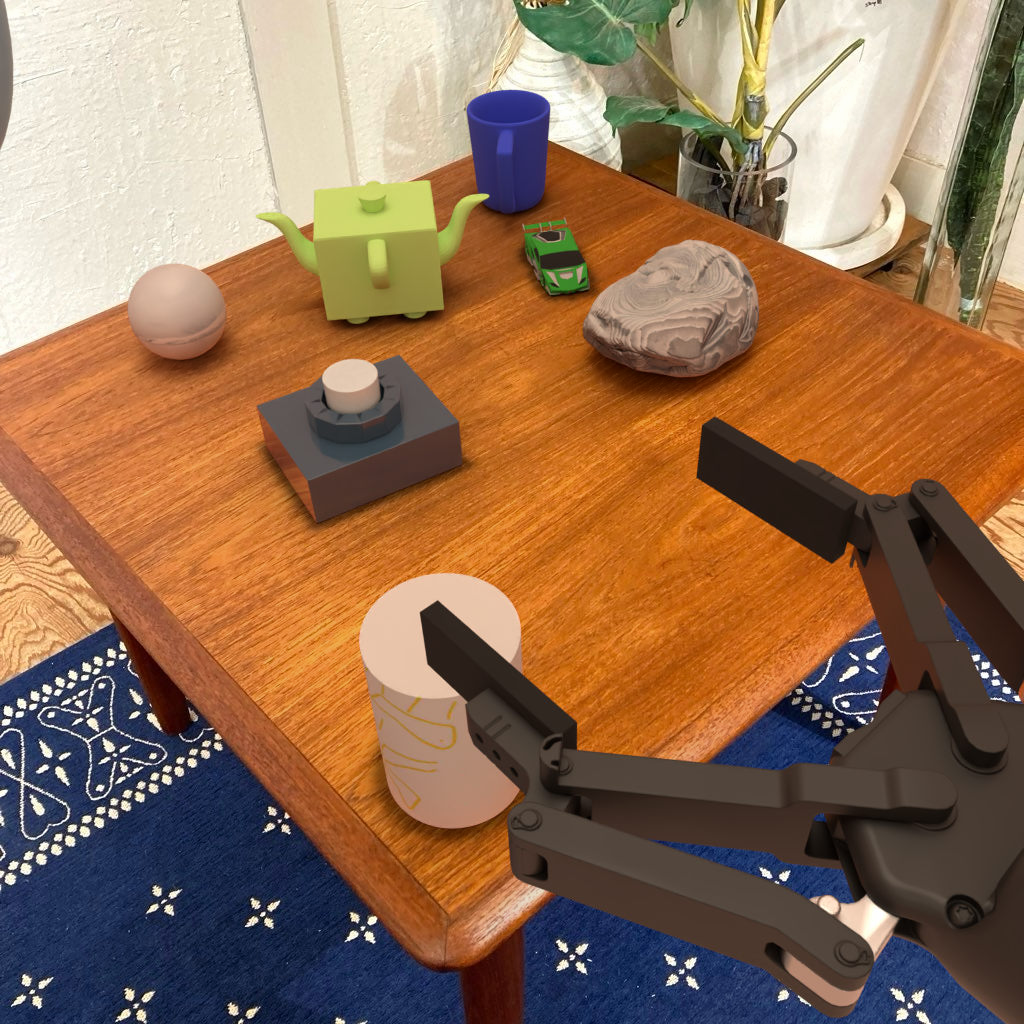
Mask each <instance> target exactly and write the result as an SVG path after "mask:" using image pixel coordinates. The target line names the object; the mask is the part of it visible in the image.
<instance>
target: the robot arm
mask: <svg viewBox="0 0 1024 1024" xmlns="http://www.w3.org/2000/svg"><path fill="white" fill-rule="evenodd" d="M12 43H13V42H12V35H11V30H10V23H9V18H8V11H7V6H6V2H5V0H0V151H1V150H2V147H3V145H4V142H5V139H6V135H7V132H8V127H9V123H10V119H11V115H12V114H11V113H12V108H13V98H14V97H13V96H14V55H13V54H14V53H13V44H12ZM696 479H697V480H699V481H700V482H702V483H704V484H705V485H706V486H708V487H709V488H712V489H713V490H715V491H716V492H718V493H719V494H721V495H722V496H724V497H726V498H727V499H728V500H731V501H732V502H734V503H735V504H737V505H738V506H739V507H741V508H743V509H744V510H746V511H748V512H749V513H751V514H752V515H754V516H756V517H757V518H759V519H760V520H761V521H762V522H765V523H767V524H768V525H770V526H772V527H773V528H774V529H776V530H778V531H779V532H781V533H782V534H783V535H785V536H787V537H788V538H790V539H791V540H793V541H795V542H797V543H798V544H799V545H801V546H803V547H804V548H805V549H807V550H808V551H810V552H812V553H814V554H815V555H817V556H818V557H819V558H821V559H823V560H825V561H826V562H828V563H829V564H831V565H833V564H834V563H835V562H836V561H838V560H839V559H840V558H841V557H843V556H844V555H845V553H846V551H847V545H848V544H850V545H852V546H853V548H852V551H851V555H850V558H849V559H850V560H849V568H850V569H853V568H854V565H855V564H854V563H856V568H858V571H859V574H860V577H861V579H862V583H863V585H864V588H865V591H866V594H867V596H868V599H869V602H870V605H871V608H872V611H873V614H874V617H875V620H876V622H877V625H878V628H879V631H880V634H881V636H882V640H883V643H884V646H885V649H886V651H887V654H888V657H889V660H890V663H891V665H892V668H893V671H894V675H895V678H896V680H897V682H898V685H899V689H898V688H895V689H894V690H893V691H892V692H891V693H890V694H889V695H888V696H886V698H885V699H884V700H883V701H881V703H880V704H879V707H878V709H877V711H876V713H875V714H874V716H873V718H872V720H871V722H869V723H867V724H864V725H863V726H861V727H858V728H857V729H855V730H852V731H851V732H849V733H847V734H846V735H845V736H844V738H843V739H841V740H840V741H839V742H838V744H836V745H835V746H834V747H833V748H832V752H831V755H830V758H829V761H828V764H825V763H824V764H823V763H814V762H813V763H812V762H797V763H792V764H790V765H789V766H787V767H785V768H783V769H771V768H762V767H761V768H760V767H750V766H740V765H731V764H722V763H721V764H720V763H711V762H701V761H690V760H682V759H681V760H680V759H672V758H661V757H654V756H653V757H652V756H642V755H632V754H622V753H612V752H604V751H603V752H602V751H592V750H585V749H584V750H581V749H578V721H576V719H574V718H573V717H572V716H571V715H570V714H569V713H567V712H566V711H565V710H564V709H563V708H562V707H561V706H559V705H558V704H557V703H556V702H555V701H554V700H553V699H551V698H550V697H549V696H548V695H547V694H545V692H543V691H542V690H541V689H540V688H539V687H538V686H536V684H535V683H533V681H531V680H530V679H528V678H527V677H526V676H525V675H524V674H522V673H520V672H519V671H518V670H517V669H516V668H515V667H514V666H512V665H511V664H510V663H509V662H508V661H507V660H506V659H504V658H503V657H502V656H501V655H500V654H499V653H498V652H497V651H495V650H494V649H493V648H492V647H491V646H490V645H489V644H487V643H486V642H485V641H484V640H483V639H482V638H481V637H479V636H478V635H477V634H476V633H475V632H474V631H473V630H471V629H470V628H469V627H468V626H467V625H466V624H465V623H463V622H462V621H461V620H460V619H459V618H458V617H457V616H455V615H454V614H453V613H452V612H451V611H450V610H449V609H447V608H446V607H445V606H444V605H443V604H442V603H441V602H439V601H438V600H437V601H436V602H434V603H433V604H431V605H430V606H428V607H427V608H425V609H423V610H422V611H420V618H421V625H422V632H423V639H424V645H425V652H426V659H427V665H429V666H430V667H431V668H432V669H433V670H434V671H435V672H436V673H437V674H438V675H439V676H440V677H441V678H442V679H443V680H445V681H446V682H447V683H448V684H449V685H450V686H451V687H452V688H453V689H454V690H455V691H456V692H457V693H458V694H459V695H461V696H462V697H463V698H464V699H465V700H466V701H467V702H468V703H466V704H465V708H466V717H467V726H468V732H469V735H470V737H471V740H472V742H473V745H474V746H475V747H476V748H477V749H478V750H480V751H481V752H482V753H483V754H484V755H486V757H487V758H488V759H489V760H490V761H491V762H492V763H493V764H495V766H496V767H497V768H498V769H499V770H500V771H501V772H502V773H503V774H504V775H505V776H506V777H507V778H508V779H509V780H511V781H512V782H513V783H514V784H515V785H516V786H517V787H518V788H519V789H520V790H519V791H520V792H521V793H522V794H524V797H523V799H522V800H521V802H519V803H518V804H515V805H514V806H512V808H511V809H510V811H509V812H508V815H507V818H506V827H507V828H506V829H507V838H508V839H507V840H508V853H509V864H510V870H511V873H512V874H513V876H514V877H515V878H516V880H519V881H520V882H521V883H524V884H527V885H529V886H531V887H535V888H538V889H541V890H543V891H546V892H549V893H551V894H554V895H557V896H560V897H562V898H565V899H568V900H569V901H573V902H576V903H579V904H582V905H584V906H586V907H587V906H588V907H590V908H593V909H596V910H599V911H601V912H604V913H606V914H609V915H612V916H615V917H617V918H621V919H622V920H627V921H629V922H632V923H634V924H637V925H640V926H643V927H646V928H648V929H652V930H654V931H657V932H659V933H662V934H665V935H667V936H670V937H673V938H676V939H679V940H682V941H684V942H686V943H689V944H692V945H696V946H698V947H701V948H704V949H707V950H709V951H712V952H715V953H717V954H720V955H723V956H726V957H729V958H731V959H734V960H737V961H739V962H742V963H745V964H748V965H751V966H753V967H756V968H759V969H762V970H764V971H765V972H767V973H768V974H769V975H771V976H772V977H773V978H775V979H776V980H778V982H780V983H781V984H783V985H784V986H785V987H786V988H788V989H789V990H790V991H792V992H793V993H794V994H795V995H797V996H798V997H799V998H801V999H803V1001H805V1002H806V1003H808V1004H809V1005H810V1006H811V1007H812V1008H814V1009H815V1010H817V1011H818V1012H819V1013H821V1014H823V1015H824V1016H827V1017H828V1018H834V1019H841V1018H844V1017H848V1015H850V1014H851V1013H852V1012H853V1011H854V1010H855V1007H856V1005H857V1003H858V1001H859V999H860V996H861V994H862V992H863V990H864V988H865V985H866V983H867V981H868V979H869V976H870V975H871V973H872V971H873V967H874V965H875V962H876V961H877V959H878V958H879V956H880V955H881V953H882V951H883V950H884V948H885V947H886V945H887V944H888V943H889V941H890V939H891V938H892V937H896V938H899V939H903V940H905V941H908V942H909V943H910V942H911V943H912V944H915V945H917V946H919V947H921V948H923V949H924V950H926V951H928V952H929V953H930V954H931V955H932V956H934V957H935V958H936V959H937V961H938V962H939V963H940V964H941V965H942V966H943V967H944V969H945V970H946V971H947V972H948V974H949V975H950V976H951V977H952V978H953V980H954V981H955V982H956V983H957V984H958V985H959V986H960V987H961V988H962V989H963V990H965V991H966V992H967V993H968V994H970V996H971V997H973V998H974V999H975V1000H977V1002H979V1003H980V1004H981V1005H982V1006H984V1007H985V1008H986V1009H987V1010H989V1012H991V1013H992V1014H993V1015H995V1017H997V1018H998V1019H999V1020H1001V1021H1002V1022H1003V1023H1004V1024H1024V579H1023V578H1022V577H1021V576H1020V575H1019V573H1018V572H1017V571H1016V570H1015V568H1014V567H1013V566H1012V565H1011V564H1010V563H1009V562H1008V560H1007V559H1006V558H1005V557H1004V556H1003V554H1002V553H1001V552H1000V550H998V548H997V547H996V546H995V545H994V544H993V542H992V541H991V540H990V538H988V537H987V535H986V534H985V533H984V532H983V531H982V529H981V528H980V527H979V526H978V525H977V524H976V521H974V520H973V519H972V517H970V515H969V514H968V513H967V511H966V510H965V509H964V508H963V507H962V506H961V504H960V503H959V501H957V500H956V498H955V497H954V496H953V495H952V494H951V493H950V491H949V490H948V489H947V488H946V487H945V485H943V484H942V483H941V482H939V481H937V480H935V479H932V478H919V479H917V480H915V481H913V482H912V483H911V486H910V490H909V491H907V492H904V493H901V494H898V495H895V496H892V495H889V494H886V493H874V494H869V493H867V492H866V491H864V490H862V489H861V488H858V487H857V486H855V485H854V484H851V483H850V482H848V481H846V480H844V479H843V478H841V477H839V476H837V475H835V474H834V473H832V472H831V471H829V470H826V469H825V468H824V467H822V466H821V465H819V464H818V463H815V462H812V461H809V460H805V459H802V458H799V459H798V460H796V461H795V462H794V461H792V460H790V459H789V458H787V457H785V456H783V455H782V454H781V453H778V452H777V451H776V450H773V449H772V448H771V447H768V446H767V445H765V444H763V443H761V442H760V441H758V440H756V439H755V438H753V437H751V436H749V435H748V434H747V433H744V432H743V431H741V430H739V429H738V428H736V427H735V426H733V425H731V424H730V423H727V422H726V421H724V420H722V419H720V418H719V417H717V416H713V417H711V418H710V419H709V420H707V421H706V422H704V423H702V424H701V430H700V438H699V449H698V458H697V466H696ZM939 596H940V597H941V599H940V597H939ZM941 600H943V602H944V603H945V604H946V605H947V607H948V608H949V609H950V611H951V612H952V613H953V615H954V617H955V618H956V619H957V621H959V623H960V624H961V626H962V627H963V628H964V630H965V631H966V633H968V635H969V637H971V639H972V641H974V642H975V645H977V646H978V648H979V650H980V651H981V652H982V653H983V655H984V656H985V657H986V659H987V660H988V662H989V663H990V664H991V666H992V667H993V668H994V669H995V670H996V672H997V673H998V675H999V676H1000V677H1001V678H1002V680H1004V682H1005V683H1006V684H1007V685H1008V686H1009V687H1010V689H1012V690H1013V692H1015V693H1016V695H1018V698H1019V700H1020V702H1021V703H1019V702H1012V701H1006V700H1000V699H991V698H990V696H989V694H988V692H987V690H986V686H985V684H984V682H983V679H982V677H981V675H980V672H979V670H978V668H977V666H976V663H975V660H974V658H973V655H972V654H971V651H970V648H969V647H968V644H967V643H966V641H964V640H957V638H956V635H955V633H954V630H953V628H952V626H951V623H950V622H949V618H948V616H947V614H946V611H945V609H944V607H943V604H942V602H941ZM821 814H823V816H824V819H825V821H824V820H815V818H816V817H817V816H819V815H821ZM656 841H661V842H669V843H670V842H671V843H678V844H689V845H696V846H697V845H698V846H705V847H706V846H707V847H713V848H714V847H716V848H725V849H733V850H743V851H751V852H759V853H768V854H771V855H773V856H774V857H775V858H776V859H777V860H778V861H780V862H782V863H785V864H789V865H795V866H806V867H813V868H824V869H831V870H832V869H833V870H842V871H843V874H844V877H845V880H846V884H847V885H848V888H849V891H850V895H851V898H852V901H853V902H849V903H846V902H840V900H839V899H838V898H837V897H836V896H834V895H831V894H821V895H820V896H819V895H818V896H813V897H811V898H807V897H806V896H805V895H803V894H801V893H798V892H797V891H795V890H793V889H790V888H789V887H787V886H784V885H782V884H780V883H777V882H774V881H772V880H770V879H767V878H764V877H761V876H759V875H755V874H752V873H748V872H746V871H743V870H740V869H737V868H734V867H731V866H728V865H725V864H722V863H720V862H716V861H713V860H710V859H707V858H705V857H702V856H699V855H695V854H693V853H690V852H686V851H683V850H680V849H678V848H674V847H671V846H669V845H665V844H663V843H659V842H656Z"/></svg>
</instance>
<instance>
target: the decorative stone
mask: <svg viewBox="0 0 1024 1024" xmlns="http://www.w3.org/2000/svg"><path fill="white" fill-rule="evenodd" d="M759 301H760V300H759V294H758V290H757V285H756V283H755V281H754V278H753V277H752V275H751V273H750V271H749V269H748V267H747V266H746V265H745V263H743V261H742V260H741V259H740V258H739V257H738V256H737V255H735V254H734V253H733V252H731V251H729V250H728V249H726V248H724V247H721V246H720V245H716V244H712V243H710V242H708V241H705V240H697V239H694V240H693V239H684V240H683V241H682V242H680V243H678V244H672V245H667V246H665V247H662V248H660V249H658V250H657V252H656V253H655V254H653V255H652V256H650V257H649V258H647V259H646V260H645V262H644V264H642V265H640V267H638V268H637V269H636V270H635V271H634V272H632V273H631V274H628V275H626V276H624V277H622V278H619V279H618V280H617V281H615V282H613V283H612V284H610V285H608V286H607V287H606V288H605V289H603V291H601V292H600V293H599V294H598V295H597V297H596V298H595V300H594V302H593V303H592V304H591V306H590V309H589V311H588V313H587V315H586V316H585V319H584V321H583V323H582V335H583V339H584V340H585V342H587V344H589V345H590V346H592V347H593V348H594V349H595V350H597V352H599V353H600V354H601V355H602V356H604V357H605V358H608V359H611V360H613V361H615V362H617V363H619V364H622V365H624V366H627V367H628V368H630V369H633V370H635V371H638V372H646V373H652V374H657V375H659V374H660V375H664V376H669V377H674V378H693V377H700V376H704V375H706V374H708V373H711V372H713V371H715V370H717V369H718V368H720V367H721V366H722V365H724V364H725V363H726V362H729V361H731V360H732V359H734V358H736V357H737V356H740V355H742V354H744V353H745V352H746V351H747V350H749V348H750V347H751V346H752V344H753V343H754V340H755V337H756V334H757V331H758V328H759V327H758V326H759V321H760V302H759Z"/></svg>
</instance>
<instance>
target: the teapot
mask: <svg viewBox="0 0 1024 1024" xmlns="http://www.w3.org/2000/svg"><path fill="white" fill-rule="evenodd" d="M313 193H314V194H313V195H314V196H313V230H312V233H313V236H312V241H311V240H309V239H308V238H306V237H305V236H304V235H303V234H302V232H301V230H300V229H299V227H298V225H297V224H296V223H295V222H294V221H293V219H291V217H289V216H288V215H286V214H284V213H282V212H275V211H266V212H261V213H257V214H256V215H255V218H256V219H258V220H261V221H264V222H266V223H268V224H271V225H273V227H276V228H277V229H278V230H279V231H280V232H281V233H282V235H283V237H284V238H285V240H286V241H287V244H288V245H289V247H290V249H291V251H292V253H293V256H294V257H295V258H296V260H297V261H298V263H299V264H300V266H302V267H303V268H304V269H305V270H306V271H307V272H309V273H311V274H313V275H314V276H317V277H319V281H320V286H321V287H320V288H321V294H322V298H323V303H324V309H325V315H326V320H327V321H337V320H346V321H347V322H349V323H351V324H354V325H355V324H357V325H358V324H362V323H365V322H368V320H369V319H370V317H379V316H381V317H382V316H391V315H401V314H402V315H404V317H406V318H408V319H419V318H422V317H424V316H425V315H426V314H427V312H432V311H443V310H445V304H444V303H445V302H444V293H443V292H444V291H443V281H442V271H441V268H442V266H444V265H446V264H448V263H449V262H450V261H451V260H452V259H454V257H455V256H456V254H457V253H458V251H459V249H460V247H461V244H462V240H463V237H464V233H465V229H466V224H467V222H468V221H467V220H468V218H469V216H470V214H471V212H472V211H473V210H474V209H475V208H476V206H478V205H479V204H481V203H483V202H482V201H484V200H486V199H487V198H488V197H489V195H488V194H478V193H475V194H474V193H473V194H470V195H467V196H464V197H463V198H461V199H460V200H458V202H457V204H455V207H454V209H453V210H452V214H451V218H450V219H449V220H450V221H449V223H448V224H447V226H446V227H445V228H444V229H442V230H441V231H439V232H438V226H437V220H436V212H435V206H434V199H433V191H432V185H431V180H430V179H428V180H427V179H425V180H424V179H423V180H414V181H413V180H411V181H402V182H390V183H381V182H380V181H379V180H369V181H367V182H366V183H365V184H364V185H353V186H341V187H332V188H331V187H330V188H322V189H315V190H314V191H313Z"/></svg>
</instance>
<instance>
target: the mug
mask: <svg viewBox="0 0 1024 1024" xmlns="http://www.w3.org/2000/svg"><path fill="white" fill-rule="evenodd" d="M466 118H467V125H468V132H469V139H470V146H471V147H470V148H471V154H472V161H473V168H474V169H473V170H474V175H475V181H476V183H475V184H476V190H477V194H488V195H489V197H488V198H487V199H486V200H484V201H482V202H481V203H483V204H484V205H485V206H486V207H488V209H491V210H494V211H497V212H501V213H502V214H505V215H507V214H509V215H510V214H513V213H518V212H524V211H526V210H529V209H531V208H533V207H535V206H536V205H538V203H540V201H541V200H542V198H543V196H544V194H545V189H546V178H547V177H546V175H547V162H548V149H549V137H550V135H549V133H550V122H551V121H550V120H551V104H550V102H549V101H548V99H547V98H545V97H544V96H543V95H540V94H538V93H536V92H533V91H529V90H523V89H500V90H494V91H489V92H485V93H483V94H480V95H478V96H476V97H475V98H473V99H471V101H469V103H468V104H467V106H466Z"/></svg>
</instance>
